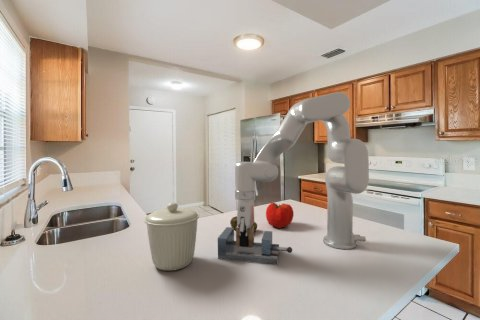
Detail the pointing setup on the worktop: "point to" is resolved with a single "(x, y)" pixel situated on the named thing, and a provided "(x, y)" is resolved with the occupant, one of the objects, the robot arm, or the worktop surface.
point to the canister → (172, 236)
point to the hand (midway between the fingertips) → (245, 243)
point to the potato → (234, 223)
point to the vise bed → (243, 250)
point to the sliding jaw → (268, 246)
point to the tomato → (279, 215)
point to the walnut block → (250, 236)
